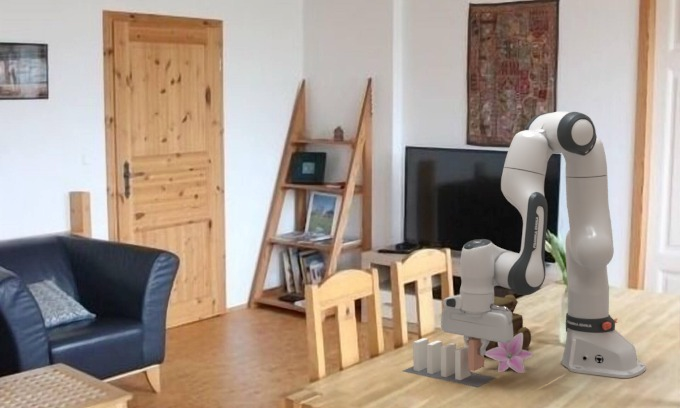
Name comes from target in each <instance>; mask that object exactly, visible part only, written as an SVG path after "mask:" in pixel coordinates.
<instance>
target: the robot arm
mask: <svg viewBox="0 0 680 408" xmlns="http://www.w3.org/2000/svg"><path fill="white" fill-rule="evenodd" d="M553 154H562V156H563V158H564V160H565V161H564V162H565V192H566V193H565V196H566V197H565V198H566V209H567V214H568V215H567V216H568V224H569V229H568V232H567V233H566V236H565V263H566V264H565V265H566V266H565V267H566V279H567V281H566V282H567V312H566V313H565V332H566V338H565V344H564V350H563V354H562V358H561V362H560V364H561V365H562V366H564V367H566V368H567V370H568V371H570V372H571V373H579V374H586V375H593V376H594V375H595V376H603V377H612V378H620V379H629V378H630V379H631V378H634V377H638V376H639V375H641V374H643V373H644V372H645V371H646V364H645V363H644V362H640V361H638V355H637V350H636V348H635V345H634V344H633V343H631V341H629V340H628V339H626V337H625V336H623V335H622V334H621V333H620V332H619V331H617V329H616V324H617V323H618V318H613V317H612V316H611V315H610V313H609V312H610V284H609V277H608V268H607V267H608V266H607V265H609V264H610V263H611V262H612V259H613V256H614V254H615V253H614V252H615V251H614V240H613V239H614V238H613V229H612V220H611V213H610V206H609V188H608V187H609V182H608V178H609V177H608V164H607V157H606V151H605V147H604V143H603V142H602V140H601V139H600V138H599V137H597V132H596V127H595V124H594V122H593V120H592V118H591V117H590V116H588V115H587V114H585V113H582V112H578V111H564V110H561V111H560V110H559V111H555V112H542V113H540V114H539V113H538V114H537V115H535V116H533V117H532V118H531V119H530V120H528V122H527V124H526V126H525V128H524V130H522V131H519V132H517V133H516V134H515V135H514V137H513V138H512V141H511V142H510V145H509V148H508V151H507V153H506V157H505V161H504V165H503V169H502V175H501V179H500V190H501V192H502V194H503V196H504V197H505V199H506V200H507V202H509V203H510V204H511V205H512V206H513V207H515V209H517V210H518V212H519V214H520V215H521V217H522V218H521V219H522V235H521V244H520V251H519V253H518V252H514V251H512V250H507V249H504V248H501V247H499V246H497V245H495V244H494V243H493V242H492V241H491V240H490V239H485V238H481V239H473V240H470V241H467V242H466V243H464V245H463V247H462V248H461V252H460V253H461V254H460V260H459V262H460V263H459V275H460V276H459V277H460V280H461V285H460V288H459V293H457V294H455V295H450V296H447V297H446V298H444V299H443V300H442V305H443V308H442V311H441V319H440V327H441V330H442V332H444V333H447V334H453V335H458V336H463V341H464V343H465V346H467V352H468V353H469V340H470V339H472V337H473V338H479V339H481V343H483V344H482V346H481V347H480V348H477V351H478V352H477V354H478V355H482V356H483V355H484V356H486V355H485V353H486V347H487V346H488V344H489V342H490V341H495V342H500V343H508V342H510V341H511V340H512V339H513V324H512V312H511V311H510V310H509V309H508V308H507V307H505V306H498V305H494V296H495V287H496V286H498V287H499V286H500V287H502V288H505V289H508V290H511V291H513V292H516V293H518V294H520V295H523V296H529V295H532V294H534V293H536V292H538V290H539V289H540V288H541V287H542V286H543V283H544V282H545V279H546V262H545V251H546V238H547V237H546V236H547V228H548V227H547V226H548V212H549V211H548V202H547V201H548V200H547V198H546V197H545V178H546V173H547V167H548V162H549V159H550V158H551V156H553ZM507 310H508V311H507Z"/></svg>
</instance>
